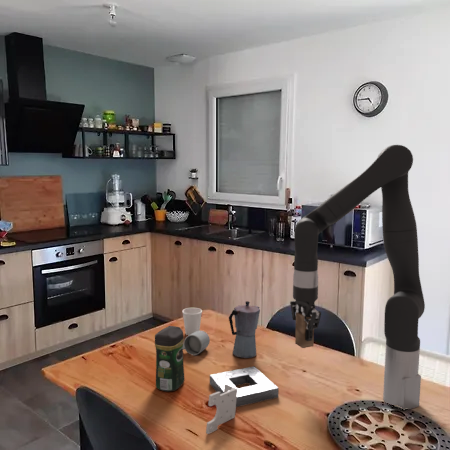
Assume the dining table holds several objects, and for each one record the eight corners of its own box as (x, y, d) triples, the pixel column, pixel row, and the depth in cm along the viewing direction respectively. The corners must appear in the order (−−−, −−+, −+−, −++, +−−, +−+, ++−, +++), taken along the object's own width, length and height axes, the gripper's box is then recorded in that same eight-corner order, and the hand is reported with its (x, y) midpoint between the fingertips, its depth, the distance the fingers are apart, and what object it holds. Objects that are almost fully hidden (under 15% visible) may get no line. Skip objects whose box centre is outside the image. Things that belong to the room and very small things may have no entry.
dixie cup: (194, 339, 180) (194, 315, 178) (178, 334, 184) (177, 311, 183) (206, 332, 186) (206, 309, 185) (190, 328, 191) (190, 306, 190)
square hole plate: (278, 397, 134) (278, 388, 134) (229, 408, 128) (229, 398, 128) (254, 374, 149) (254, 366, 148) (209, 383, 143) (209, 374, 142)
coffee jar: (165, 376, 147) (165, 322, 145) (187, 380, 145) (187, 325, 142) (151, 390, 138) (150, 332, 136) (174, 394, 136) (173, 336, 133)
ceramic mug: (211, 348, 170) (210, 329, 169) (201, 357, 163) (201, 336, 162) (186, 344, 174) (186, 325, 173) (176, 352, 167) (175, 333, 166)
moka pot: (267, 351, 167) (268, 300, 165) (240, 365, 156) (240, 309, 154) (247, 345, 174) (248, 295, 171) (220, 357, 163) (220, 304, 160)
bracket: (222, 415, 126) (225, 380, 126) (234, 420, 124) (237, 385, 123) (195, 427, 118) (199, 390, 117) (208, 434, 115) (211, 395, 115)
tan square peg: (313, 346, 137) (314, 314, 136) (302, 348, 135) (303, 316, 134) (306, 341, 141) (306, 310, 139) (295, 343, 139) (295, 312, 138)
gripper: (330, 288, 131) (328, 344, 133) (303, 277, 144) (302, 328, 146) (308, 291, 128) (307, 348, 130) (282, 279, 141) (282, 332, 143)
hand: (304, 337), depth 138 cm, fingers closed on tan square peg, 4 cm apart
